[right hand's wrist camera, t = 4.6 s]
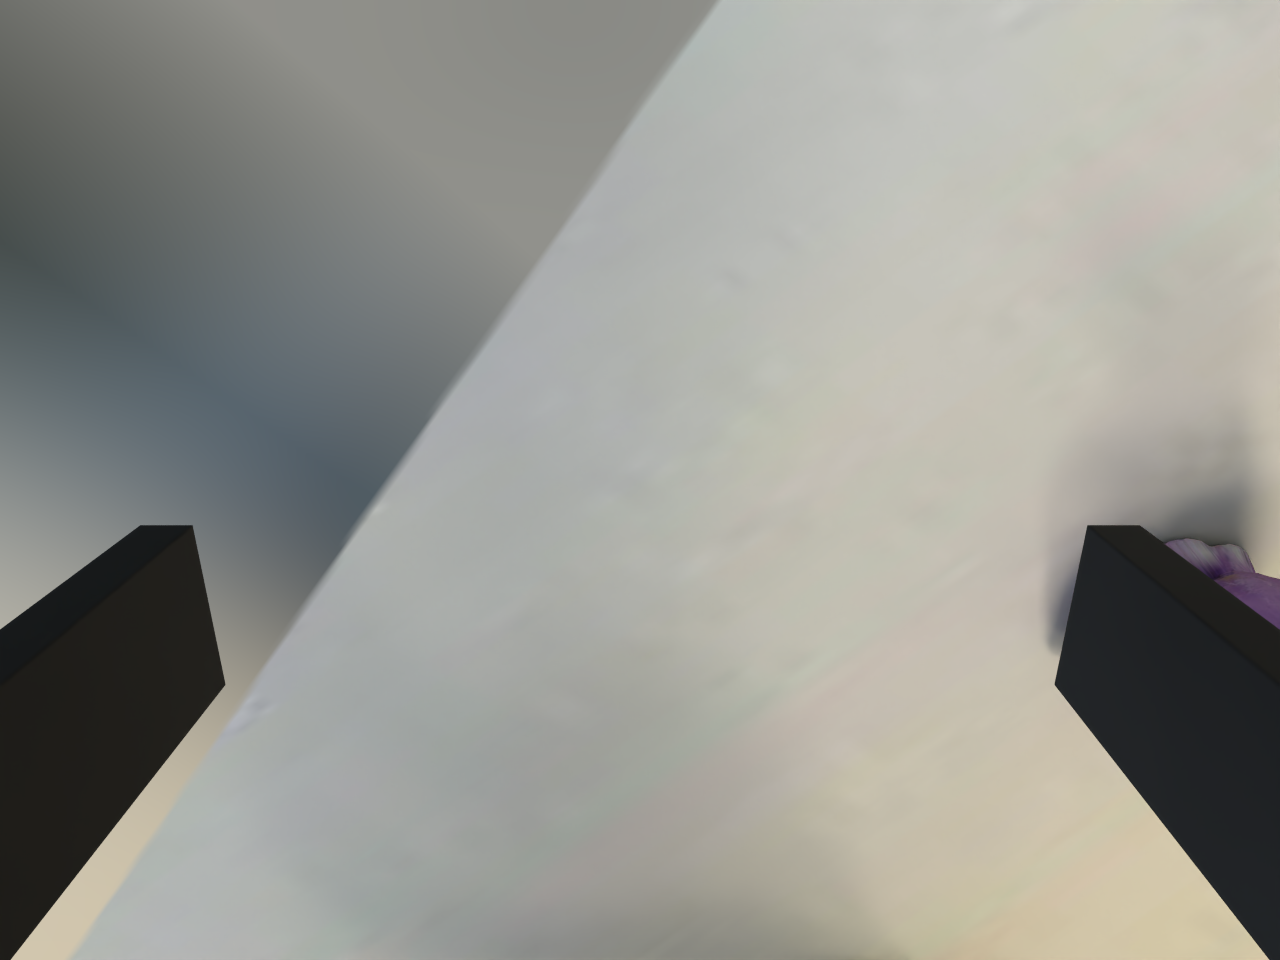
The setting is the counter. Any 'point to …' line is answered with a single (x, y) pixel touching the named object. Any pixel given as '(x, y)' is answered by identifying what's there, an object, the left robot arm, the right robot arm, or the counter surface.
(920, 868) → the counter surface
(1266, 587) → the figurine
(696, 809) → the counter surface
